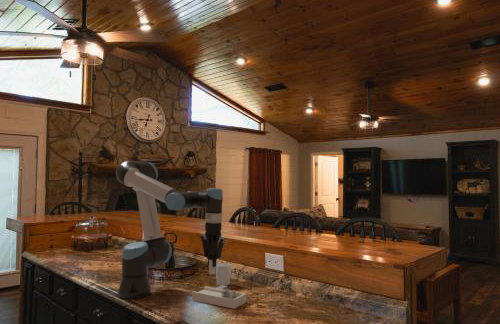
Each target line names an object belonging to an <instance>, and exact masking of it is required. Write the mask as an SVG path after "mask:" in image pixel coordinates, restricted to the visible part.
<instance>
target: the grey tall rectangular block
mask: <svg viewBox="0 0 500 324" xmlns="http://www.w3.org/2000/svg"><path fill="white" fill-rule="evenodd" d="M215 288H218V289H223V290H226V289H228V285H226V286H224V285H217V286H216V287H215Z"/></svg>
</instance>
